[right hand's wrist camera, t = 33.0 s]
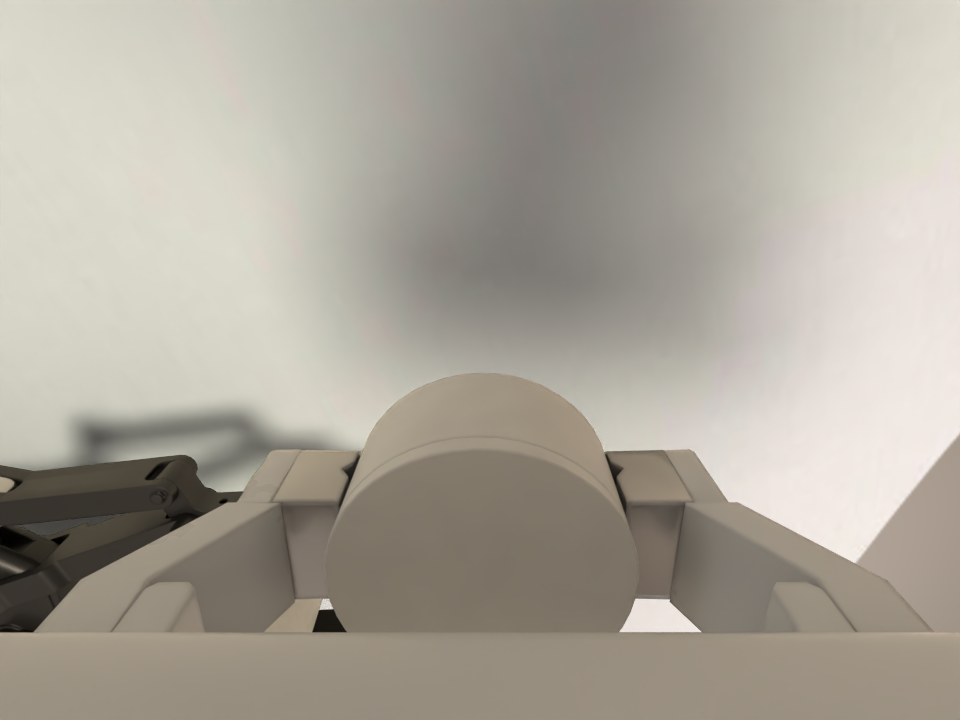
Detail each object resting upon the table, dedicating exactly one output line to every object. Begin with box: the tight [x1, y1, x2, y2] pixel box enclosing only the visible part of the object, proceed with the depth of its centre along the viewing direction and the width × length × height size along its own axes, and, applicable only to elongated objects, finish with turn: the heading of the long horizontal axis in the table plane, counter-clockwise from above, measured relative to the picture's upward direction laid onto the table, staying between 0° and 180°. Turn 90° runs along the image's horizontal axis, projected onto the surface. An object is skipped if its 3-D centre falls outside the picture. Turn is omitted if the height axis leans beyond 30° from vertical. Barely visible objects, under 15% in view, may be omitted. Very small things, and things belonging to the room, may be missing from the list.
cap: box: [324, 373, 639, 632], centre depth 9 cm, size 4×4×2 cm
